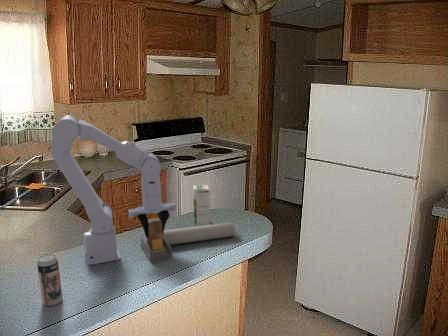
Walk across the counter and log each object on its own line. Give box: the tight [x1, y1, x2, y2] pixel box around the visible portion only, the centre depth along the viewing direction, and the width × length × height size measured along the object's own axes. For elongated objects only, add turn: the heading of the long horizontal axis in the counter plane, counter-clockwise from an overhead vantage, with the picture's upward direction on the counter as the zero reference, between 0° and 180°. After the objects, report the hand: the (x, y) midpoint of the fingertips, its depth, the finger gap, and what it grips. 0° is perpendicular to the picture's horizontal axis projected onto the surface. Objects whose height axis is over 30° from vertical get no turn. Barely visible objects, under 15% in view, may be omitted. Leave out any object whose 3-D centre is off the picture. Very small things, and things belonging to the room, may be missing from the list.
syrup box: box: [192, 184, 211, 227], centre depth 152 cm, size 6×6×14 cm
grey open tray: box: [140, 235, 174, 263], centre depth 132 cm, size 12×7×4 cm, turn 24°
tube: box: [162, 222, 236, 246], centre depth 140 cm, size 5×5×25 cm
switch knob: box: [152, 238, 163, 250], centre depth 130 cm, size 2×3×3 cm, turn 114°
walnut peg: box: [146, 217, 163, 248], centre depth 132 cm, size 4×4×8 cm
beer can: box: [36, 253, 64, 307], centre depth 105 cm, size 5×5×12 cm
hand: (154, 235), depth 133 cm, fingers closed on walnut peg, 4 cm apart
